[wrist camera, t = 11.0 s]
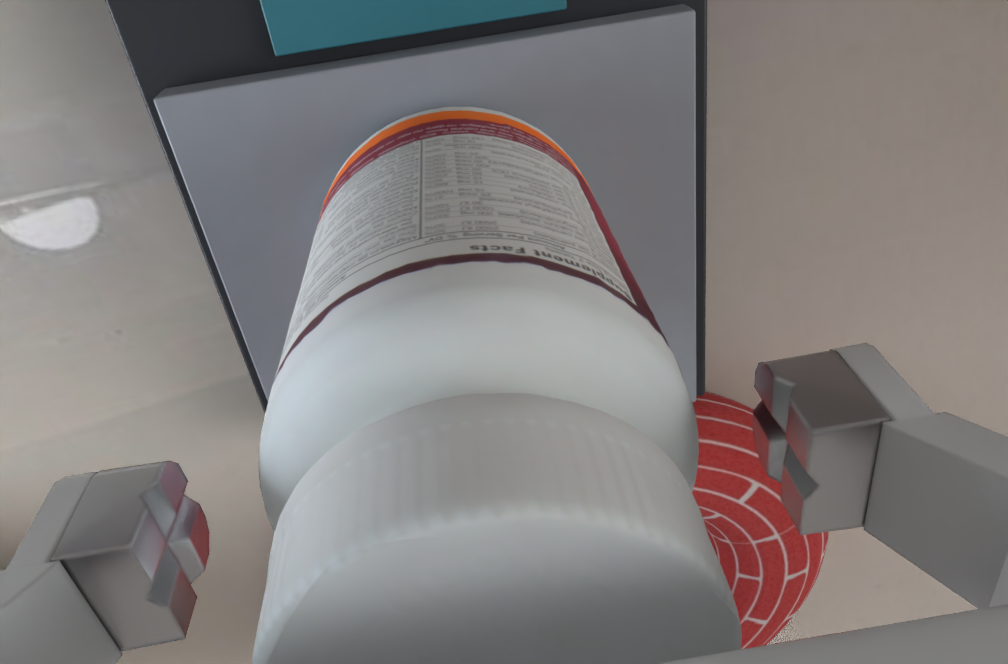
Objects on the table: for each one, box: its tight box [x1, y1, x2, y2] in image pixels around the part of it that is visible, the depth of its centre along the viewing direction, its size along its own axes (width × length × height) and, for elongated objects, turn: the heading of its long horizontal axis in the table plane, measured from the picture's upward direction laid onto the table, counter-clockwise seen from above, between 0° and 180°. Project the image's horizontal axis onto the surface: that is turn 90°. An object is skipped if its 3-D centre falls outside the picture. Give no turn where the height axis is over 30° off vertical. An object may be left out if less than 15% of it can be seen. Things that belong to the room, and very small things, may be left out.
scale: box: [105, 0, 707, 413], centre depth 19 cm, size 13×12×3 cm
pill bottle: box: [252, 106, 742, 664], centre depth 13 cm, size 6×6×11 cm
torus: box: [692, 392, 828, 649], centre depth 26 cm, size 16×14×4 cm
